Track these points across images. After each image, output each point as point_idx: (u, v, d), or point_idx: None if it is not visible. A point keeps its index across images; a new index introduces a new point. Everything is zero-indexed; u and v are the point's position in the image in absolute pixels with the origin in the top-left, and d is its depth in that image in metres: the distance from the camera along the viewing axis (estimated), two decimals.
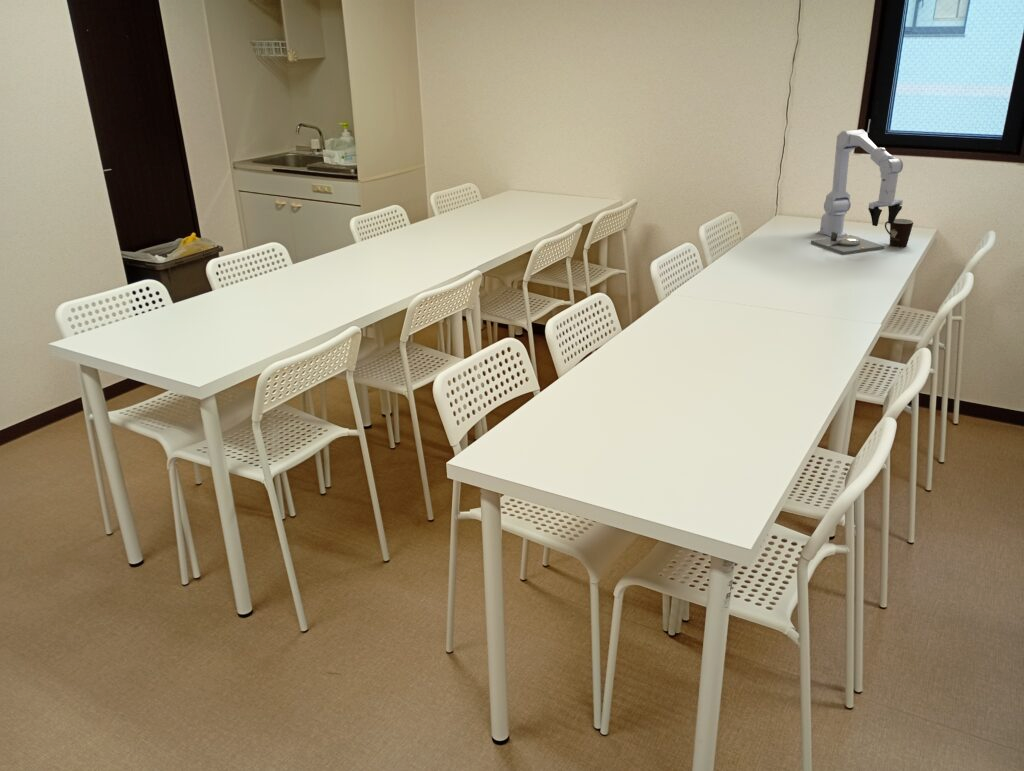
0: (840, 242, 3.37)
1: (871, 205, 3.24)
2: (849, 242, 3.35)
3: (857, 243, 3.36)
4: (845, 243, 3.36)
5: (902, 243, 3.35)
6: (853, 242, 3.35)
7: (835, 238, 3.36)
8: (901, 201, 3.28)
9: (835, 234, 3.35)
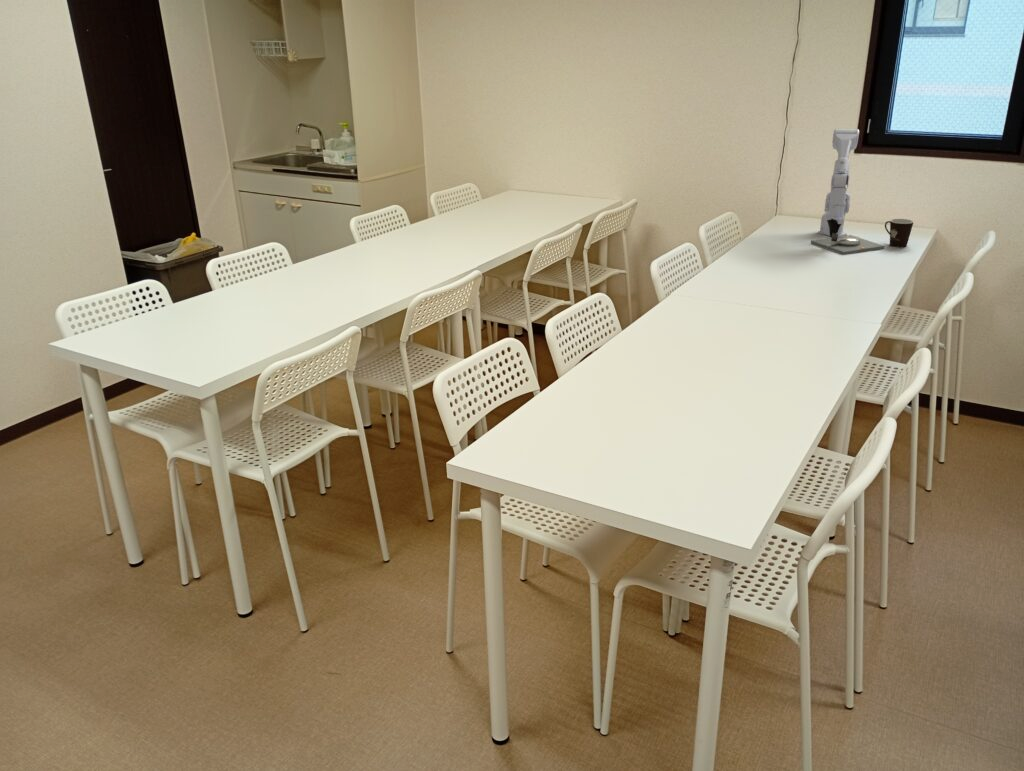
0: (841, 242, 3.37)
1: None
2: (850, 242, 3.35)
3: (857, 243, 3.36)
4: (846, 243, 3.36)
5: (902, 243, 3.35)
6: (854, 242, 3.35)
7: (836, 238, 3.36)
8: (838, 220, 3.29)
9: (836, 234, 3.35)
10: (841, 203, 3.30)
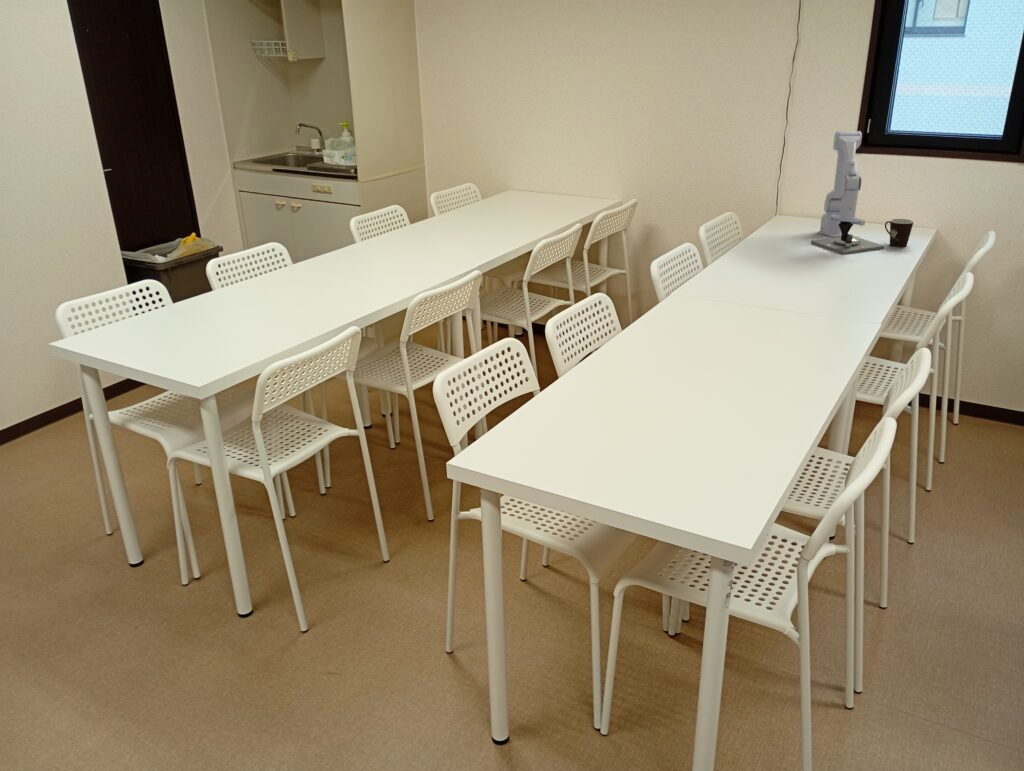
0: (851, 243, 3.35)
1: None
2: (859, 241, 3.36)
3: None
4: (856, 243, 3.36)
5: (902, 243, 3.35)
6: (860, 240, 3.37)
7: (851, 240, 3.32)
8: (860, 222, 3.25)
9: (852, 236, 3.32)
10: (853, 205, 3.26)
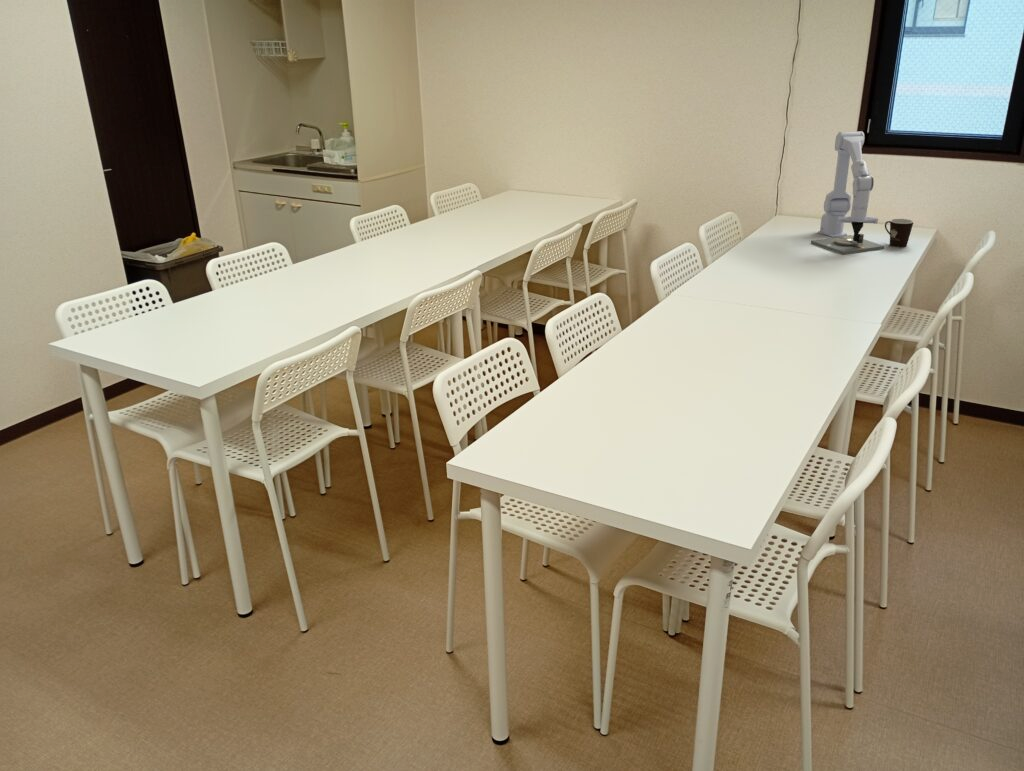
0: None
1: (838, 219, 3.30)
2: None
3: None
4: None
5: (902, 243, 3.35)
6: None
7: None
8: (876, 220, 3.27)
9: None
10: (866, 206, 3.25)
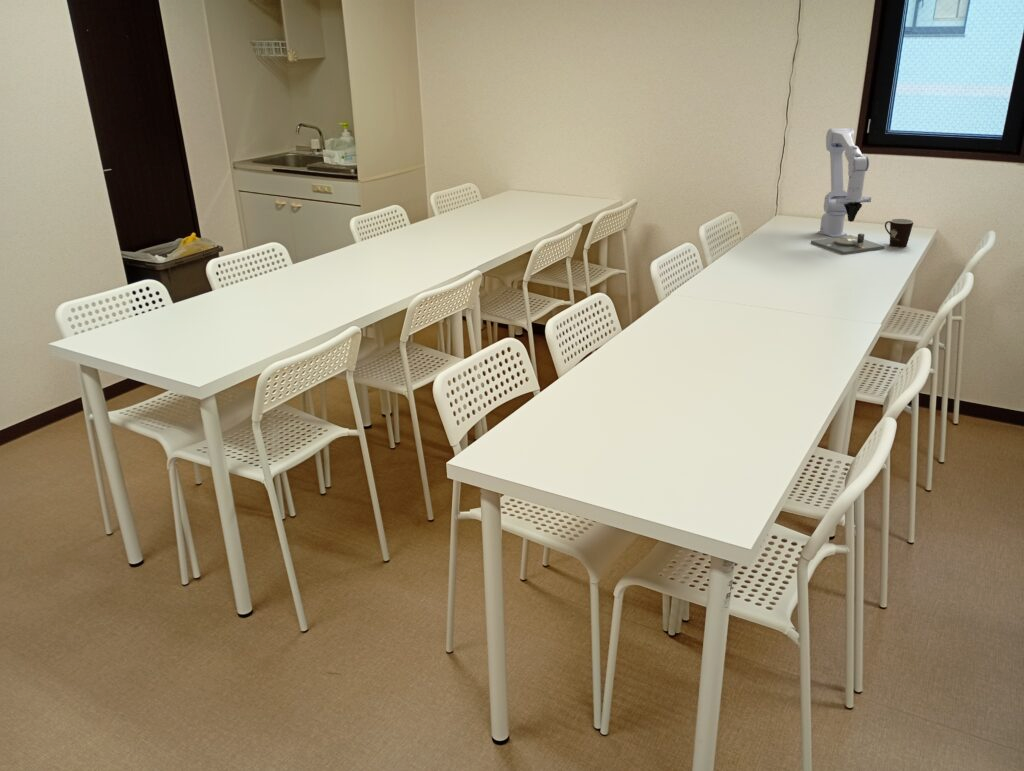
0: None
1: (838, 201, 3.34)
2: None
3: None
4: None
5: (902, 243, 3.35)
6: None
7: None
8: (869, 198, 3.36)
9: None
10: (861, 186, 3.31)
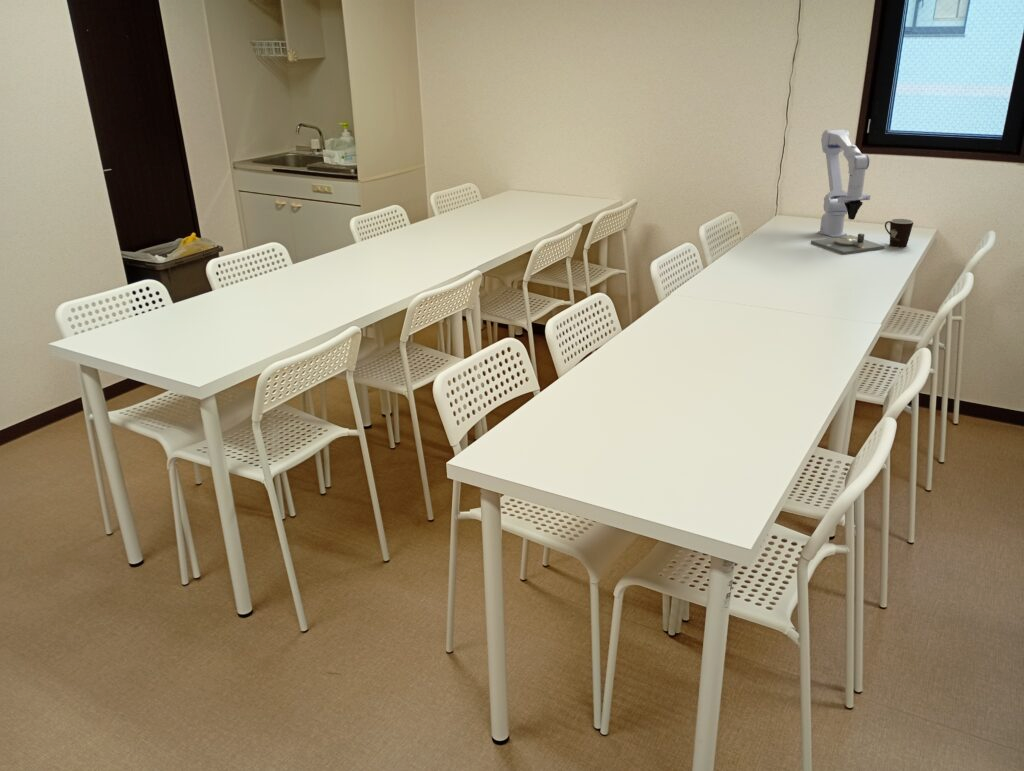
0: None
1: (840, 200, 3.35)
2: None
3: None
4: None
5: (902, 243, 3.35)
6: None
7: None
8: (869, 196, 3.39)
9: None
10: (862, 184, 3.33)
